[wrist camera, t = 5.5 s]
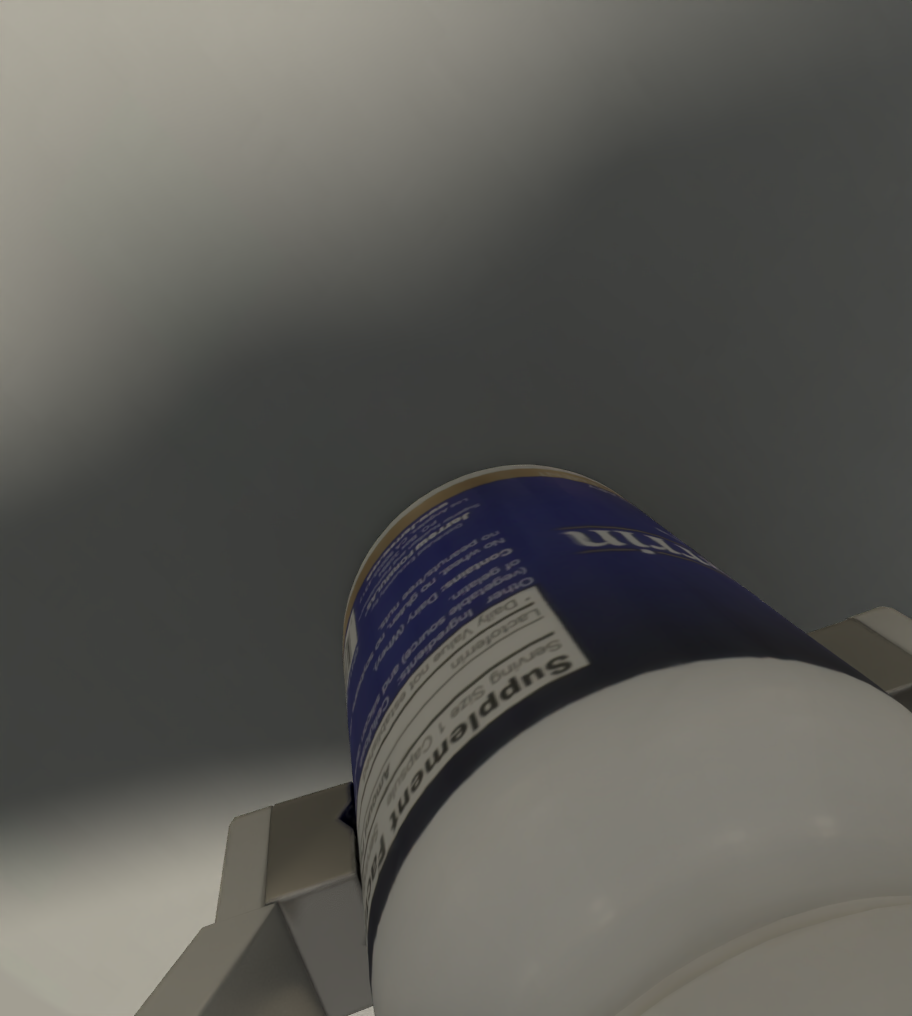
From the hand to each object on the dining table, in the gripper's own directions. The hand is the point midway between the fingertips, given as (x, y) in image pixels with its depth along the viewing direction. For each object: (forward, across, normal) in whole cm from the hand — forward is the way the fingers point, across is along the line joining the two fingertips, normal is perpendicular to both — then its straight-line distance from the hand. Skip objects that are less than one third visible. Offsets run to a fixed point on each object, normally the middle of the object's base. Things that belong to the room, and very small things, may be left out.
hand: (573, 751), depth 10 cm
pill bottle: (+4, 0, 0) cm, 4 cm away
